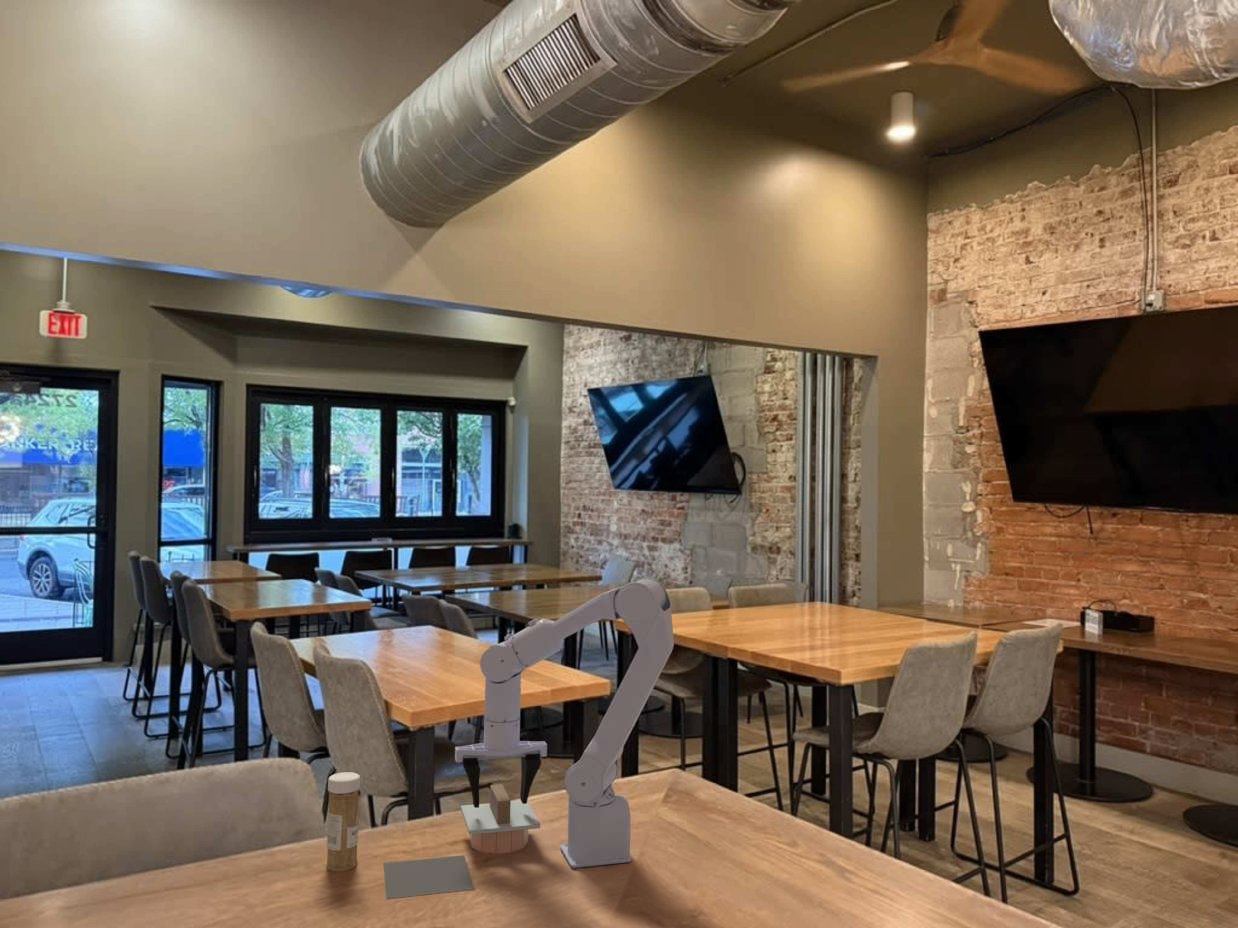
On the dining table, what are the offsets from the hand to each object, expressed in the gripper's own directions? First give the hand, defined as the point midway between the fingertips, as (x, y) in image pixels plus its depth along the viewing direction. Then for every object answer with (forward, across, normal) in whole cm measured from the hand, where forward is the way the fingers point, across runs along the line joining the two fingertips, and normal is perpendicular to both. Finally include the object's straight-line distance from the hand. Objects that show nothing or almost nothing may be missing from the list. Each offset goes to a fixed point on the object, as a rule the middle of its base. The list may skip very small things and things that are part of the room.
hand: (500, 803), depth 141 cm
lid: (+2, 0, 0) cm, 2 cm away
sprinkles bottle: (+7, +24, +3) cm, 25 cm away
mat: (+6, +12, +10) cm, 17 cm away
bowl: (+6, 0, 0) cm, 6 cm away
